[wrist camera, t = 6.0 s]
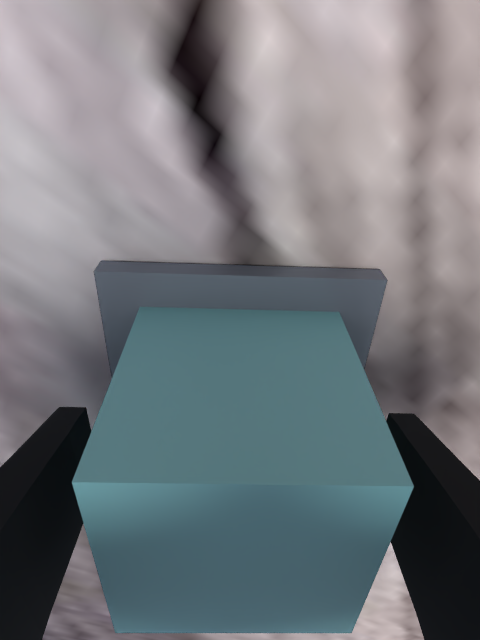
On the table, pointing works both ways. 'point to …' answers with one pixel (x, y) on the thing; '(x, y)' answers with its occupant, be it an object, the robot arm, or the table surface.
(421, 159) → the table surface
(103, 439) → the teal cube
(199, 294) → the slate coaster
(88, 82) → the table surface
